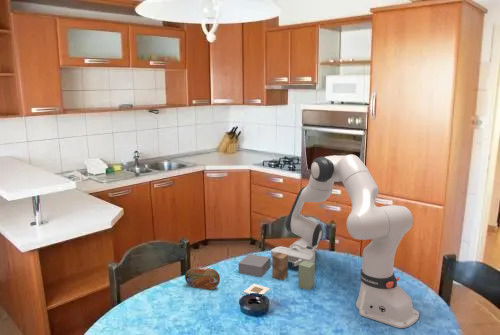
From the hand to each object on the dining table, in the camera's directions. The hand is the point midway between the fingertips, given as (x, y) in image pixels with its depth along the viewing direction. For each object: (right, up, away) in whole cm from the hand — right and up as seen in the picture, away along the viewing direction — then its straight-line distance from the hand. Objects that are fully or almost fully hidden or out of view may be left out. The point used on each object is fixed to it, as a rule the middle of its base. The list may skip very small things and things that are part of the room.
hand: (284, 262), depth 185 cm
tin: (-35, -8, -10) cm, 37 cm away
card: (-12, -9, -14) cm, 20 cm away
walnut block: (-2, -6, -2) cm, 6 cm away
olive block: (+8, -8, -11) cm, 15 cm away
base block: (-13, -5, +5) cm, 15 cm away
